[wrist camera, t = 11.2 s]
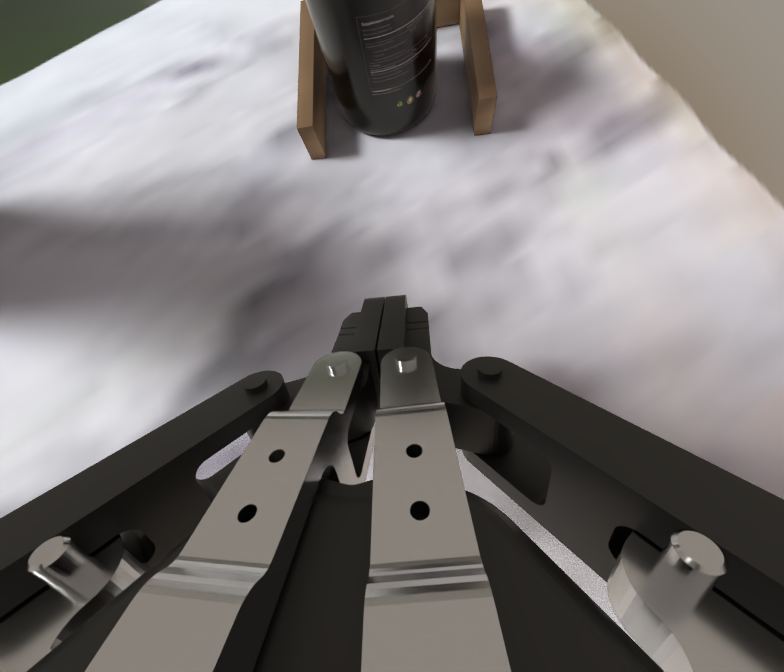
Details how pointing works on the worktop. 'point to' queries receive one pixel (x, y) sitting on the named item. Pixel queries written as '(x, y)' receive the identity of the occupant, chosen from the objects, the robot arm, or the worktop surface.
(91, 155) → the worktop surface
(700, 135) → the worktop surface
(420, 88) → the supplement bottle
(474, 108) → the walnut frame
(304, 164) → the worktop surface
